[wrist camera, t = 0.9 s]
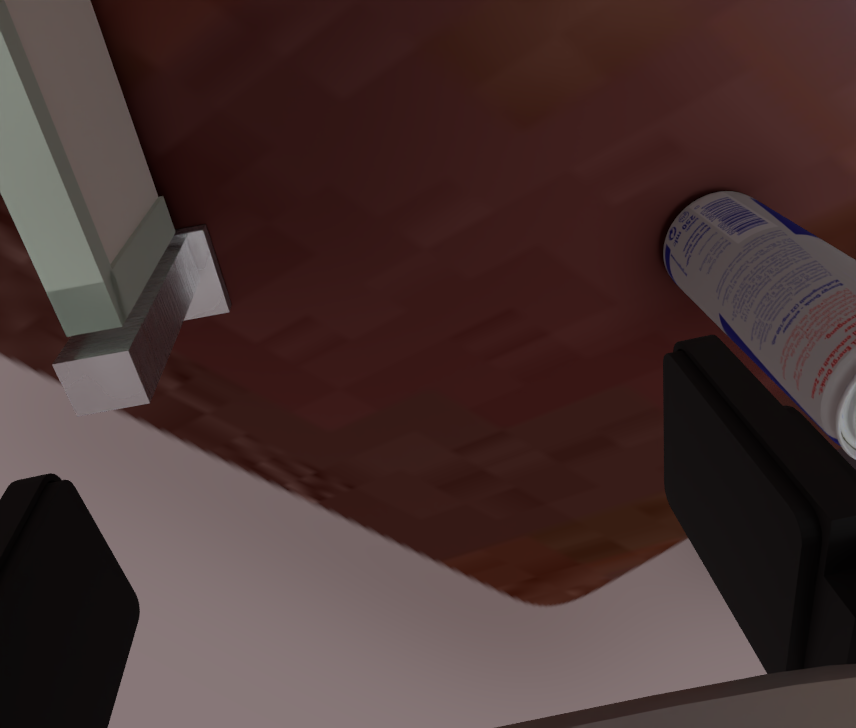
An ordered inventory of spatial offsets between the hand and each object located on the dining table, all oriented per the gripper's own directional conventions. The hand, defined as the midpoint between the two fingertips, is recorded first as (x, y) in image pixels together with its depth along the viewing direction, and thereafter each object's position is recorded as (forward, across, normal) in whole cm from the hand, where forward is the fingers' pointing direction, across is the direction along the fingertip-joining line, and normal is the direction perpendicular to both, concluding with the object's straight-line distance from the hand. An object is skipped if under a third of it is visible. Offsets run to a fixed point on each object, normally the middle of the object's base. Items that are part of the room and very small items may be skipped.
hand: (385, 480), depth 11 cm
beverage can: (+23, -16, +8) cm, 29 cm away
